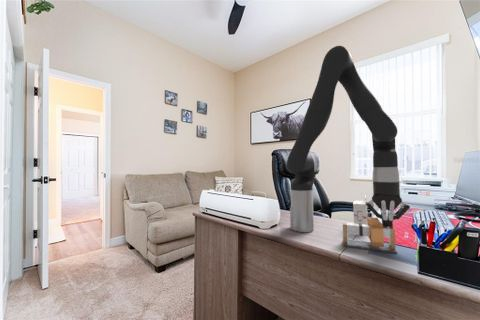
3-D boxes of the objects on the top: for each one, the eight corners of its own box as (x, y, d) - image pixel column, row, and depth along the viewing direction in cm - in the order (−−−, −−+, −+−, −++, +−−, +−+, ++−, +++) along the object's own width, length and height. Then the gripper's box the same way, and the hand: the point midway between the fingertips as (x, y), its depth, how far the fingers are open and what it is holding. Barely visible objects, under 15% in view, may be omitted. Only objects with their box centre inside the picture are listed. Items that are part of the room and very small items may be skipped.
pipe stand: (343, 246, 71) (342, 225, 72) (342, 240, 77) (342, 221, 77) (397, 253, 65) (396, 230, 65) (392, 246, 71) (391, 225, 71)
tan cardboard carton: (372, 245, 66) (371, 224, 66) (367, 235, 75) (367, 217, 76) (383, 247, 65) (383, 225, 65) (377, 236, 74) (376, 217, 74)
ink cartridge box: (354, 226, 94) (353, 193, 95) (367, 228, 92) (366, 194, 92) (353, 231, 87) (352, 196, 87) (367, 233, 84) (366, 196, 85)
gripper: (365, 180, 72) (366, 231, 71) (413, 181, 66) (415, 236, 66) (362, 179, 79) (363, 226, 78) (405, 179, 73) (407, 229, 73)
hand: (387, 230), depth 72 cm, fingers closed
